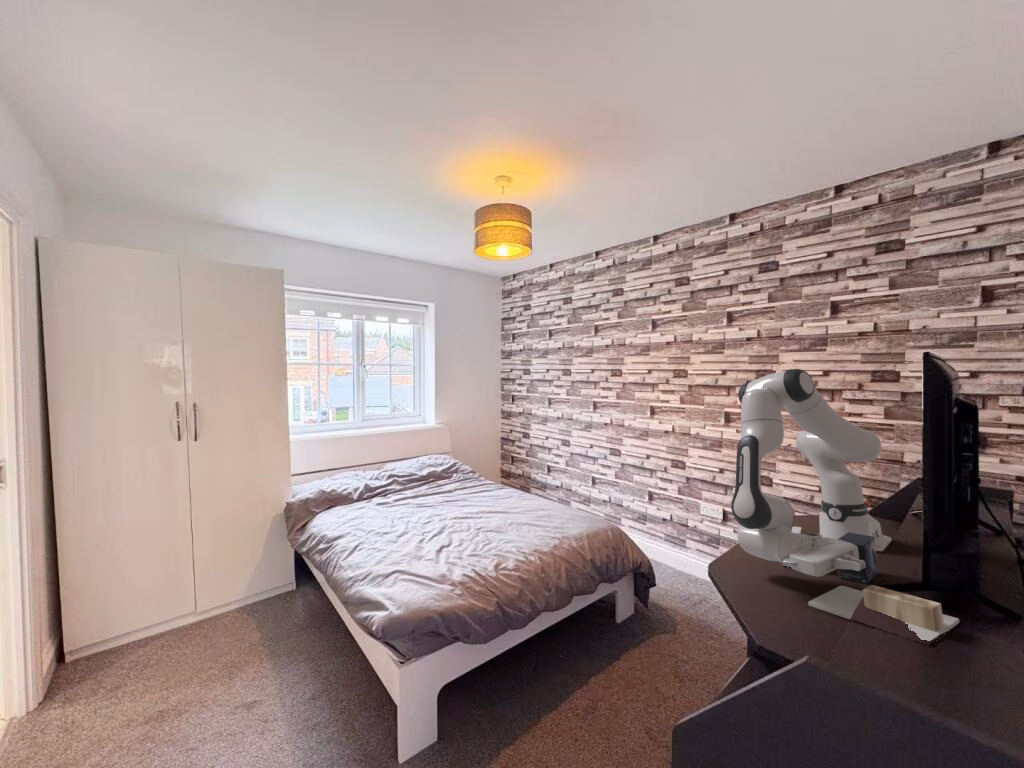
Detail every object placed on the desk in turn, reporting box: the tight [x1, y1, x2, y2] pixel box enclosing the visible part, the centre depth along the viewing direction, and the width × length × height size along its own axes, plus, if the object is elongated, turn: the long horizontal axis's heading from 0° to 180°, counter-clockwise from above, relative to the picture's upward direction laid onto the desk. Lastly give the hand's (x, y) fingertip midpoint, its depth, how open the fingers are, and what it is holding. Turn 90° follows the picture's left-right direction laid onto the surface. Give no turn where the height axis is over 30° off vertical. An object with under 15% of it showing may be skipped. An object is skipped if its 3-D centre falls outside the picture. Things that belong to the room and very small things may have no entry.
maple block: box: [862, 584, 944, 632], centre depth 93 cm, size 4×4×12 cm
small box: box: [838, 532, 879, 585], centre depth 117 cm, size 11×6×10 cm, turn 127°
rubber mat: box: [807, 585, 960, 641], centre depth 97 cm, size 16×22×1 cm
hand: (862, 566), depth 99 cm, fingers closed
